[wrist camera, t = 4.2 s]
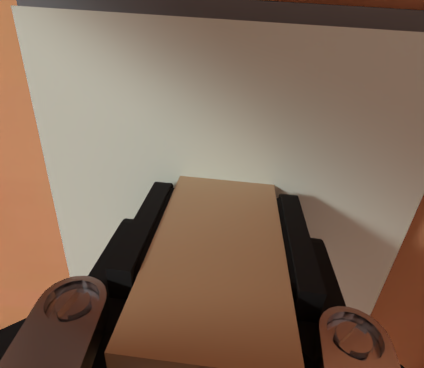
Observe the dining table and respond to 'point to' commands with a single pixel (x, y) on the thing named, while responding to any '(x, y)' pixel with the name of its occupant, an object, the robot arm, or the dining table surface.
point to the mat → (254, 12)
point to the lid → (225, 166)
